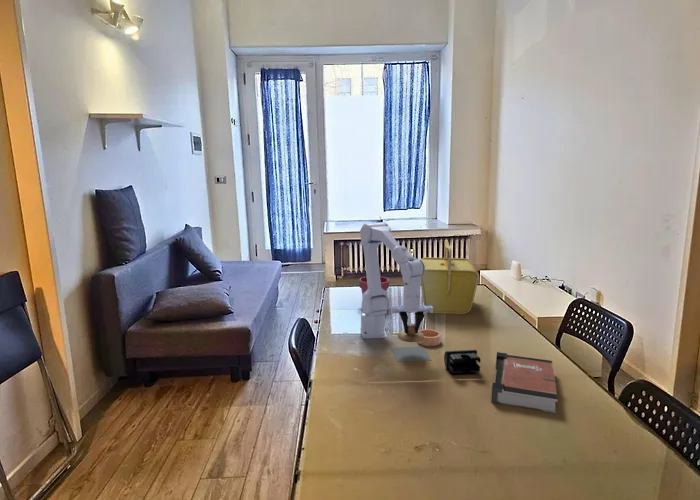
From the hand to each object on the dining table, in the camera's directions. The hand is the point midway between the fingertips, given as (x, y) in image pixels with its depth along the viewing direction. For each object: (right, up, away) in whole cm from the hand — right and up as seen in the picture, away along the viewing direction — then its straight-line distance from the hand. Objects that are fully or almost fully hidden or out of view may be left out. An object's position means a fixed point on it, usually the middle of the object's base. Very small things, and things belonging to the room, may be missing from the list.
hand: (411, 332), depth 159 cm
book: (+31, -13, -22) cm, 40 cm away
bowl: (+8, -6, +13) cm, 16 cm away
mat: (0, -8, +1) cm, 8 cm away
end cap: (+15, -11, -11) cm, 22 cm away
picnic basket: (+24, +2, +58) cm, 63 cm away
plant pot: (-10, +2, +59) cm, 60 cm away
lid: (0, -2, 0) cm, 2 cm away
